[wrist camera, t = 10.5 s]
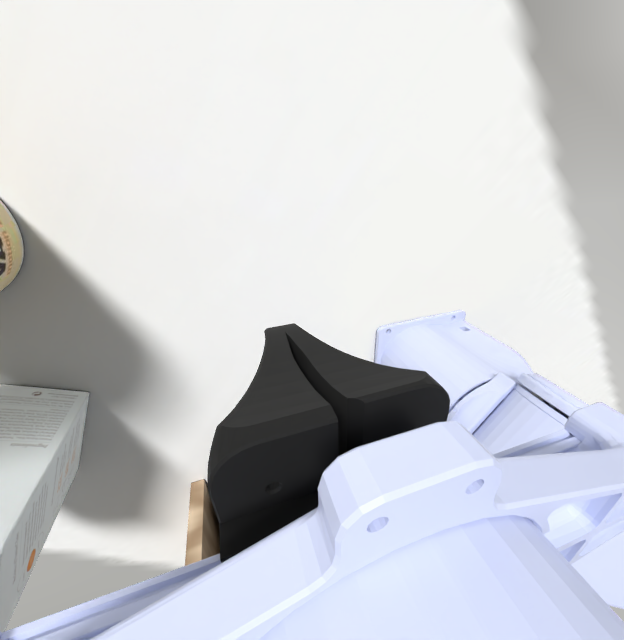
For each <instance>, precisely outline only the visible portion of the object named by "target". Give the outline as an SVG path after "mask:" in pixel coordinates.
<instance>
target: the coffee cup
mask: <svg viewBox="0 0 624 640" xmlns="http://www.w3.org/2000/svg"><path fill="white" fill-rule="evenodd" d="M23 257H24V247H23V240H22V237H21V233H20V230H19V227H18V225H17V223H16V221H15V219H14V218H13V216H12V215H11V213H10V211H9V210H8V209H7V207H6V206H5V205H4V204H3V202H2V201H1V200H0V291H1V290H3V289H4V288H5V287H6V286H8V285H9V284H10V283H11V282H12V281H13V280H14V278H15V277H16V275H17V274H18V272H19V270H20V268H21V265H22V262H23Z"/></svg>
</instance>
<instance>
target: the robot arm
mask: <svg viewBox="0 0 624 640" xmlns="http://www.w3.org/2000/svg"><path fill="white" fill-rule="evenodd" d="M465 316H466V313H465V312H464V311H462V310H458V311H453V312H449V313H444V314H439V315H434V316H429V317H424V318H419V319H414V320H409V321H405V322H400V323H395V324H390V325H385V326H381V327H379V328H378V330H377V335H376V350H375V363H373V362H370V361H366V360H363V359H360V358H357V357H354V356H351V355H349V354H347V353H344V352H342V351H339V350H337V349H335V348H333V347H331V346H329V345H327V344H326V343H324V342H322V341H320V340H319V339H317V338H315V337H314V336H312V335H311V334H309V333H308V332H306V331H305V330H303V329H302V328H300V327H299V326H297V325H296V324H288V325H283V326H277V327H272V328H267V329H266V330H265V331H264V332H265V338H266V339H265V347H264V352H263V356H262V359H261V362H260V365H259V368H258V370H257V372H256V375H255V377H254V379H253V381H252V383H251V384H250V386H249V388H248V390H247V391H246V393H245V394H244V396H243V397H242V399H241V400H240V401H239V403H238V404H237V405H236V407H235V408H234V409H233V410H232V412H231V413H230V414H229V415H228V416H227V417H226V418H225V419H224V420H223V421H222V422H221V423H220V424H219V425H218V426H217V428H216V432H215V435H214V438H213V442H212V446H211V451H210V456H209V462H208V492H209V496H210V499H211V502H212V505H213V507H214V510H215V513H216V515H217V518H218V521H219V527H220V554H217V555H214V556H211V557H209V558H206V559H203V560H200V561H198V562H195V563H192V564H189V565H186V566H184V567H181V568H178V569H175V570H173V571H170V572H168V573H164V574H162V575H159V576H157V577H153V578H151V579H148V580H145V581H143V582H140V583H137V584H134V585H132V586H129V587H126V588H123V589H120V590H118V591H115V592H112V593H109V594H107V595H104V596H101V597H98V598H96V599H93V600H90V601H87V602H85V603H82V604H79V605H76V606H73V607H71V608H68V609H65V610H62V611H60V612H57V613H54V614H51V615H49V616H46V617H43V618H40V619H38V620H35V621H32V622H29V623H27V624H24V625H21V626H18V627H16V628H13V629H10V630H7V631H4V632H1V631H0V640H624V622H623V621H622V620H621V619H620V618H619V616H618V615H617V614H616V613H615V612H614V611H613V610H612V609H611V608H610V607H609V606H613V607H617V608H621V609H624V415H623V414H621V413H620V412H618V411H616V410H614V409H613V408H611V407H609V406H608V405H606V404H604V403H602V402H597V403H594V404H592V405H588V404H586V403H585V402H583V401H582V400H580V399H578V398H577V397H575V396H573V395H572V394H570V393H569V392H567V391H565V390H564V389H562V388H560V387H559V386H557V385H556V384H554V383H552V382H551V381H549V380H547V379H546V378H544V377H542V376H541V375H539V374H537V373H533V371H532V370H531V368H530V366H529V365H528V363H527V362H526V360H525V359H524V358H523V357H522V356H521V355H520V354H519V353H518V352H516V351H515V350H514V349H512V348H510V347H509V346H507V345H505V344H504V343H502V342H500V341H498V340H497V339H495V338H493V337H492V336H490V335H488V334H486V333H485V332H483V331H481V330H480V329H478V328H476V327H474V326H473V325H471V324H469V323H468V322H466V321H464V320H465ZM451 317H452V318H451ZM388 329H389V330H388ZM387 330H388V331H387ZM386 331H387V332H386Z"/></svg>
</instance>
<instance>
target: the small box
mask: <svg viewBox="0 0 624 640" xmlns="http://www.w3.org/2000/svg"><path fill="white" fill-rule="evenodd" d="M88 400H89V392H82V391H70V390H60V389H49V388H37V387H26V386H15V385H4V384H0V631H1V632H4V631H5V630H6V628H7V625H8V623H9V621H10V619H11V617H12V614H13V612H14V610H15V608H16V606H17V604H18V601H19V599H20V597H21V594H22V592H23V590H24V588H25V586H26V583H27V581H28V579H29V577H30V575H31V572H32V570H33V568H34V566H35V564H36V561H37V559H38V557H39V554H40V552H41V550H42V548H43V546H44V543H45V541H46V539H47V537H48V535H49V532H50V530H51V528H52V526H53V523H54V521H55V519H56V517H57V514H58V512H59V510H60V508H61V506H62V504H63V501H64V499H65V497H66V495H67V493H68V490H69V488H70V486H71V484H72V482H73V479H74V477H75V475H76V473H77V470H78V468H79V461H80V454H81V447H82V441H83V433H84V427H85V420H86V413H87V406H88Z"/></svg>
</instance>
